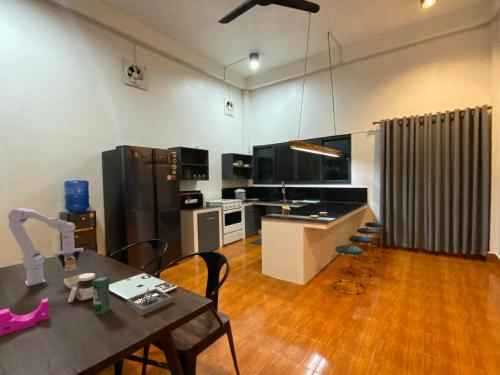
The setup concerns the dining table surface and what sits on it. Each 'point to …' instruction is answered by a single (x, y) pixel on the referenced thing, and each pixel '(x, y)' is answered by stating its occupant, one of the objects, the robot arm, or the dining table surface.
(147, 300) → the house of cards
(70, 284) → the white square tray
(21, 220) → the robot arm
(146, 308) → the grey square tray
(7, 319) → the magenta saddle bracket
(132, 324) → the dining table surface
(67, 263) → the pine crate
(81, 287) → the spread jar
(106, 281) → the can
